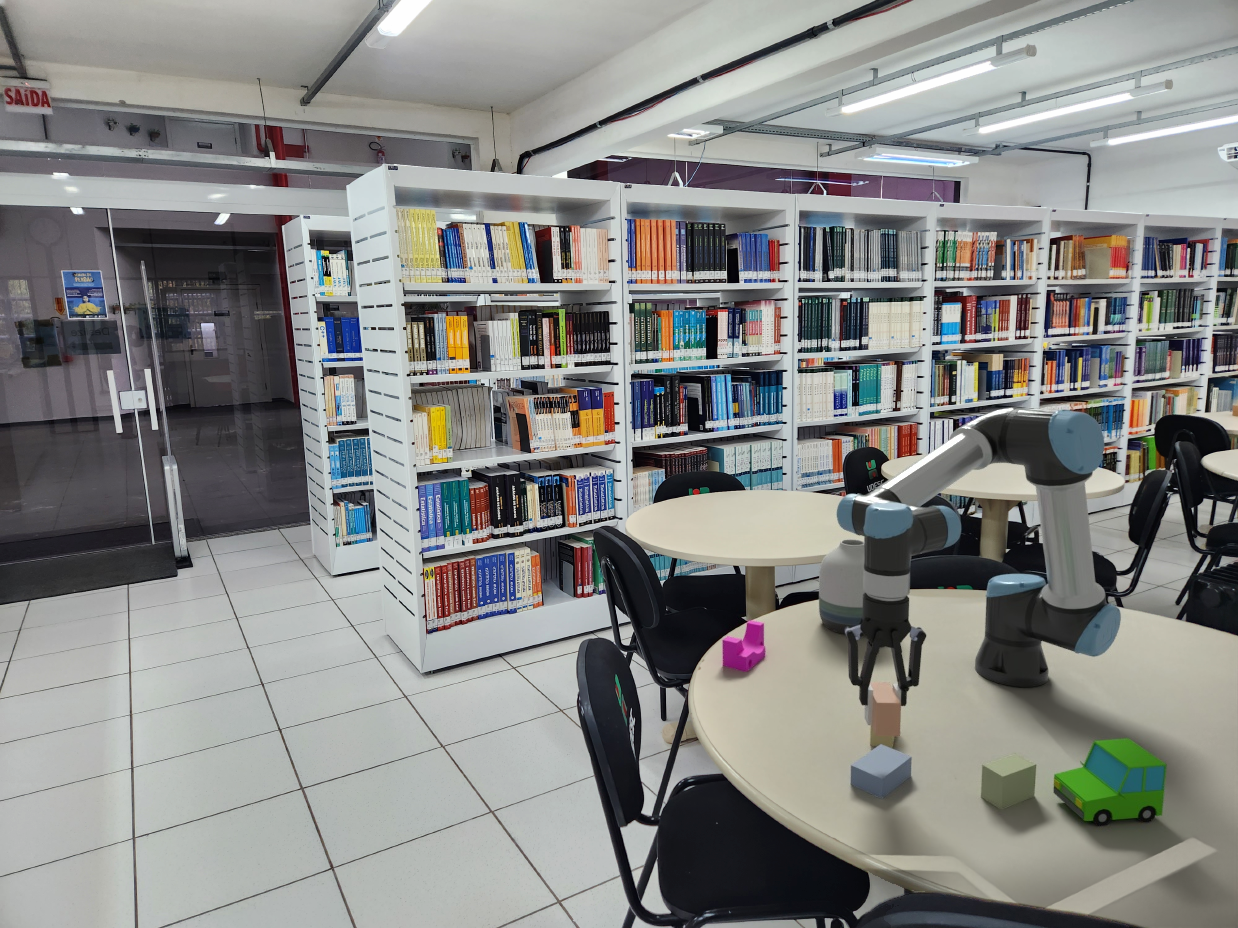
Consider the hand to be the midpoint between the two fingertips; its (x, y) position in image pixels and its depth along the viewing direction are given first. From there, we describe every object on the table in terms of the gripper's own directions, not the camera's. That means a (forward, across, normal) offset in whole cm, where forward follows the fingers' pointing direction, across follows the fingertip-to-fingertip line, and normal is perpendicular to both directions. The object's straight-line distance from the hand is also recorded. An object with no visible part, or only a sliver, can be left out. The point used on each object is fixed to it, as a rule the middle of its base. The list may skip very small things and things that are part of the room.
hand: (882, 721), depth 134 cm
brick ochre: (+11, -4, -15) cm, 19 cm away
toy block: (+12, +20, -51) cm, 56 cm away
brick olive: (+11, -20, +4) cm, 23 cm away
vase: (+11, -9, -72) cm, 74 cm away
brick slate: (+12, 0, 0) cm, 12 cm away
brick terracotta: (0, 0, 0) cm, 0 cm away
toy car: (+11, -34, +7) cm, 37 cm away
